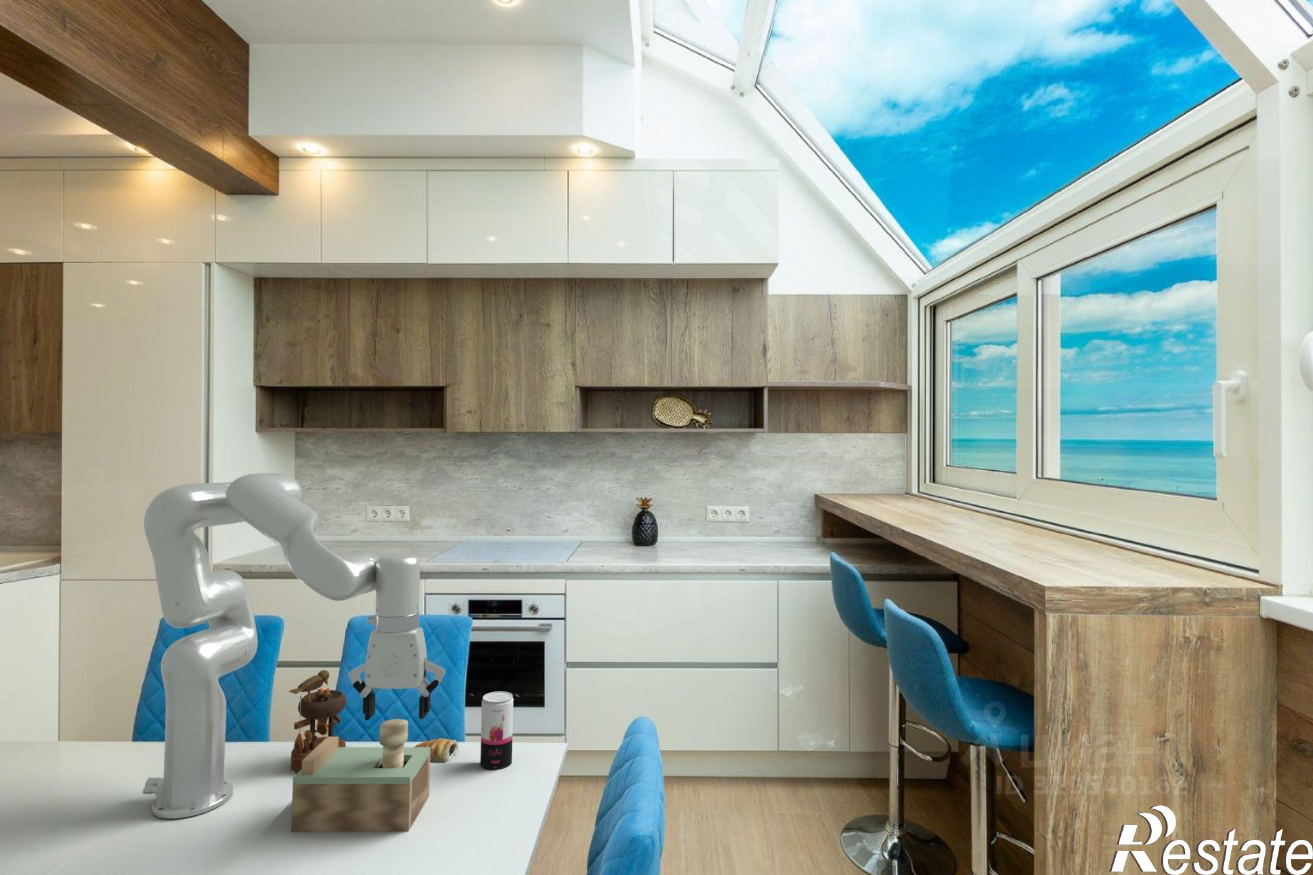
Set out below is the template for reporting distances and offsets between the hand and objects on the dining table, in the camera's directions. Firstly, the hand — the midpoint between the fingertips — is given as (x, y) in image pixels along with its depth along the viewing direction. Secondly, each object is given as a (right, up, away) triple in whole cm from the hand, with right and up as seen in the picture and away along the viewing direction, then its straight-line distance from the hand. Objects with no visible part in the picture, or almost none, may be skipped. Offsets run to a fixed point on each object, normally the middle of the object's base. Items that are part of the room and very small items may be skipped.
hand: (396, 716), depth 123 cm
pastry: (-1, -20, +25) cm, 32 cm away
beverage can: (+13, -19, +20) cm, 31 cm away
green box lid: (-6, -9, 0) cm, 11 cm away
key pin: (-1, -17, 0) cm, 17 cm away
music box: (-25, -19, +22) cm, 38 cm away
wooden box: (-6, -18, -1) cm, 19 cm away
